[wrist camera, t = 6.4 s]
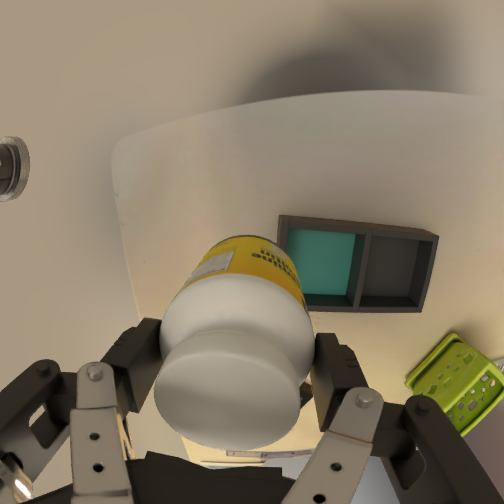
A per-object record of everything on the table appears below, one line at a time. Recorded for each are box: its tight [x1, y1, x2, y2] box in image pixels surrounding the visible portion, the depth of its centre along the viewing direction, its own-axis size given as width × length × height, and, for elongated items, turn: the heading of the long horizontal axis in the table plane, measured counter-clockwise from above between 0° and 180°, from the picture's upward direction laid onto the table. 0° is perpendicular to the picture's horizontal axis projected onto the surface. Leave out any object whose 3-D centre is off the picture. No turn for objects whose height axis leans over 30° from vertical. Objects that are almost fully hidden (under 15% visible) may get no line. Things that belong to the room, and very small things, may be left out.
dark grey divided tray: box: [277, 215, 439, 313], centre depth 34 cm, size 20×10×4 cm, turn 87°
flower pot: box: [405, 333, 504, 437], centre depth 35 cm, size 14×14×13 cm
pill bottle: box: [154, 235, 315, 451], centre depth 14 cm, size 6×6×12 cm
